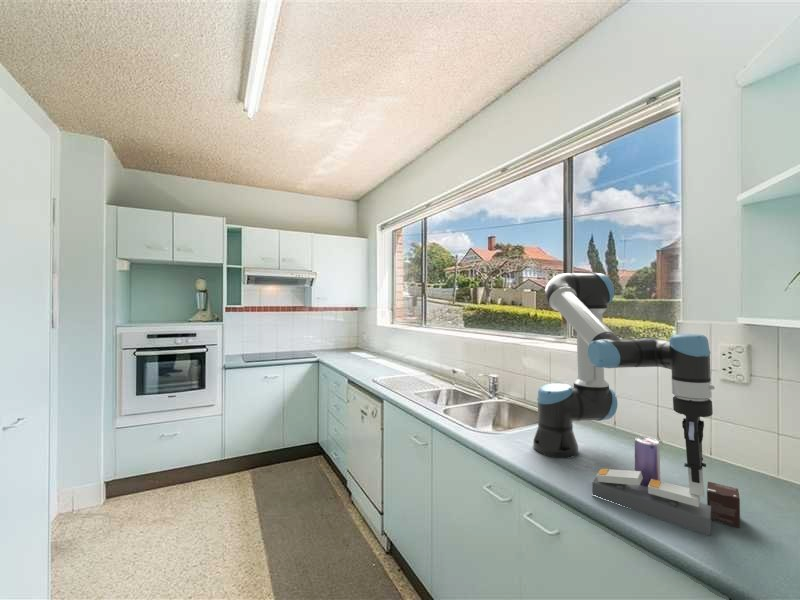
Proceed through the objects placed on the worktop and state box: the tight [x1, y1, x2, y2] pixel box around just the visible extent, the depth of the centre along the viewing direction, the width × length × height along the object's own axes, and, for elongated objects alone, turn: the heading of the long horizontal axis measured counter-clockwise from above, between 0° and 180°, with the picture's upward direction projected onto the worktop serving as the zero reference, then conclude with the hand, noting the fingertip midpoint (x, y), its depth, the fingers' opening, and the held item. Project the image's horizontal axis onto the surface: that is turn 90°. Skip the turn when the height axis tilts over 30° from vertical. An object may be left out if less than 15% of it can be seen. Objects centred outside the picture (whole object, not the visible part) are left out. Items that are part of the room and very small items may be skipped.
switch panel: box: [591, 476, 712, 537], centre depth 95 cm, size 25×7×5 cm, turn 47°
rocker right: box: [648, 479, 701, 507], centre depth 91 cm, size 10×5×2 cm, turn 47°
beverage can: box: [634, 436, 661, 487], centre depth 102 cm, size 6×6×15 cm
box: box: [706, 481, 741, 529], centre depth 90 cm, size 6×6×7 cm
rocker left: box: [596, 468, 643, 485], centre depth 99 cm, size 10×5×2 cm, turn 46°
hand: (696, 493), depth 88 cm, fingers closed
